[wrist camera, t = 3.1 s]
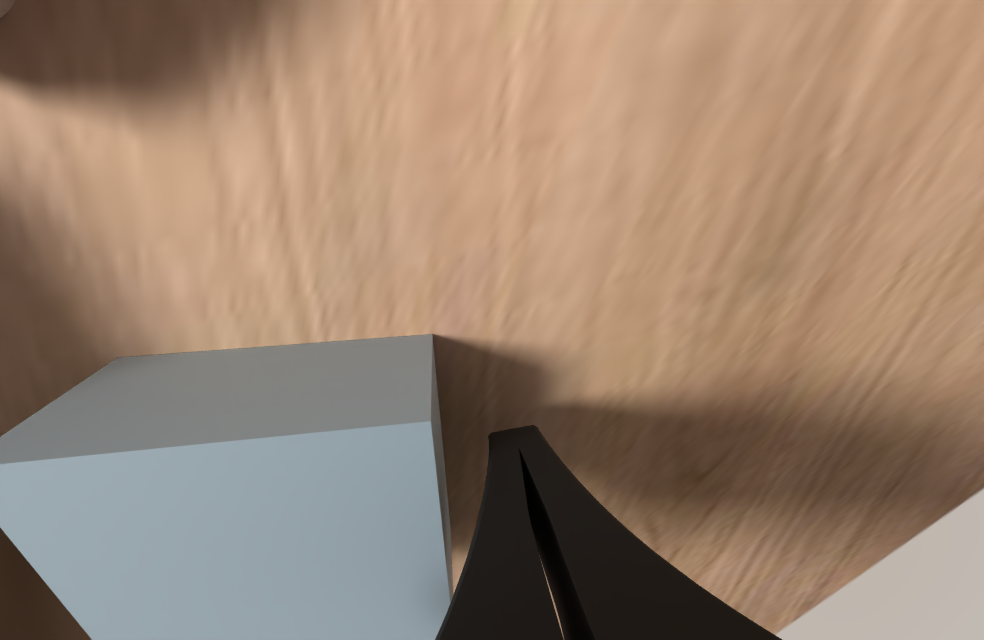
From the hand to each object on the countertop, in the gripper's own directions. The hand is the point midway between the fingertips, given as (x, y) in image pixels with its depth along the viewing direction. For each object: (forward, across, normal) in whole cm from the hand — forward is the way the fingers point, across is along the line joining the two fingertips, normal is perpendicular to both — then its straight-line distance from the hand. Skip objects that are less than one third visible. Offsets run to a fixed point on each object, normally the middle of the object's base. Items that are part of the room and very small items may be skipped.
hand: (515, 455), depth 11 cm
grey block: (+2, +6, 0) cm, 6 cm away
